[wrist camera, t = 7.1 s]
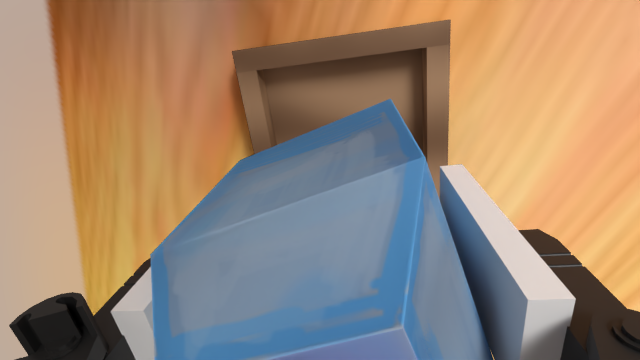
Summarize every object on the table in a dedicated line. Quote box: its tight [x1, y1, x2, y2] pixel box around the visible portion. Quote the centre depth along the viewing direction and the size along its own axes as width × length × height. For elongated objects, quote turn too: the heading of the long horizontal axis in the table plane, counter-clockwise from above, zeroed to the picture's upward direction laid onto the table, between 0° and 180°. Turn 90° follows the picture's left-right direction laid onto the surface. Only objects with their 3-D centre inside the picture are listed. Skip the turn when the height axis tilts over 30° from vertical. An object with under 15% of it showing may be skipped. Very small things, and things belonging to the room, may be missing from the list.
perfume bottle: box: [150, 99, 493, 360], centre depth 8 cm, size 6×6×12 cm
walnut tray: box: [232, 20, 451, 200], centre depth 21 cm, size 12×12×2 cm
